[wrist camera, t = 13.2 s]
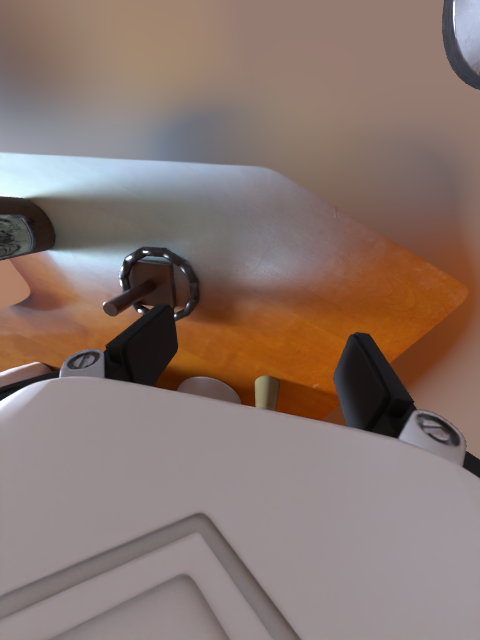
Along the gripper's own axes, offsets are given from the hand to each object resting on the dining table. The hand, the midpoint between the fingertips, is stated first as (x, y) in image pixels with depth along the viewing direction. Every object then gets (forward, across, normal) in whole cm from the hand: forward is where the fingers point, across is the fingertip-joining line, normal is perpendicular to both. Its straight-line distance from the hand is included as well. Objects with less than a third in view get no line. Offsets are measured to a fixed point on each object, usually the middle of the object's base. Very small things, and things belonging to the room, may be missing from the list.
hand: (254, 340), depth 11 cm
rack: (+27, +23, +9) cm, 37 cm away
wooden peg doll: (+27, -3, +32) cm, 42 cm away
